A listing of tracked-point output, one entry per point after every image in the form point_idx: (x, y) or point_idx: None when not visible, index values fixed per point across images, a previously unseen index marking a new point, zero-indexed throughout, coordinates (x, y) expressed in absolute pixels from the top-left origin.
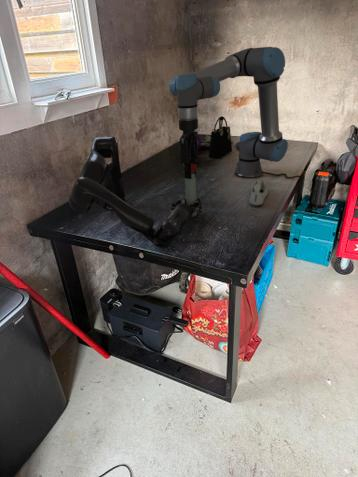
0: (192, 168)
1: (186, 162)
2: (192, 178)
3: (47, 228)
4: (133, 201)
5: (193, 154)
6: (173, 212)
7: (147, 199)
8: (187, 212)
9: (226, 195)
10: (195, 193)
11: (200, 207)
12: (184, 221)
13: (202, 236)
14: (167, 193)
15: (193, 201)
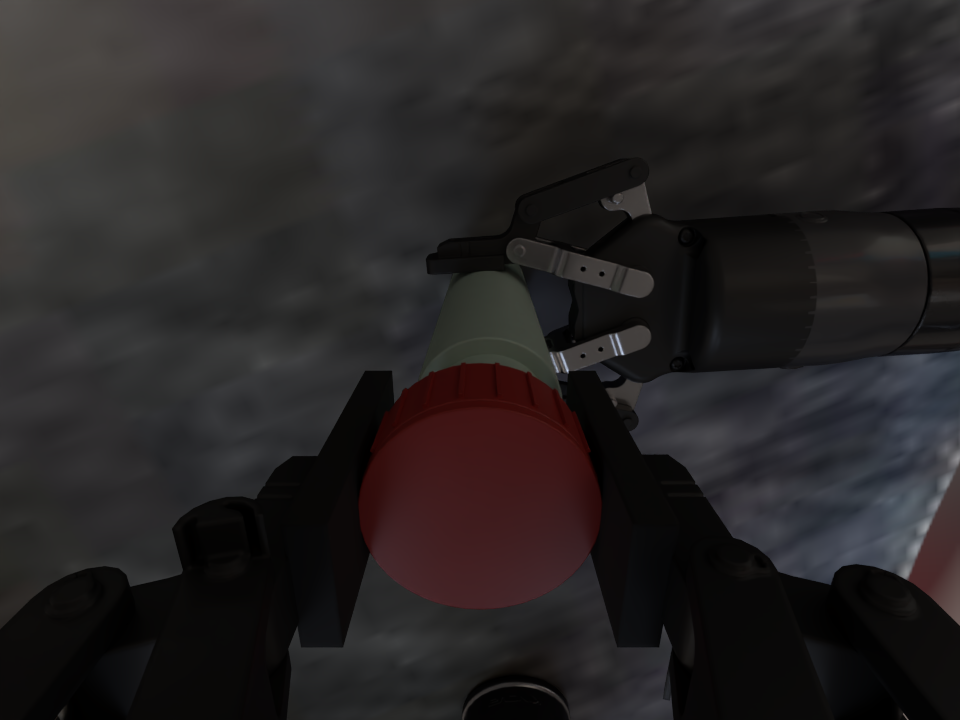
0: (571, 431)
1: (924, 612)
2: (524, 367)
3: None
4: (424, 669)
5: (261, 675)
6: (901, 333)
7: (369, 619)
8: (818, 231)
9: (38, 131)
10: (494, 286)
11: (644, 165)
12: (905, 213)
13: (805, 76)
14: None
15: (518, 282)
